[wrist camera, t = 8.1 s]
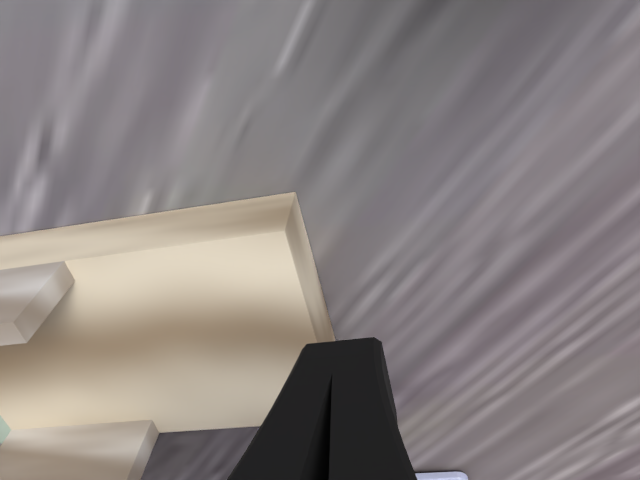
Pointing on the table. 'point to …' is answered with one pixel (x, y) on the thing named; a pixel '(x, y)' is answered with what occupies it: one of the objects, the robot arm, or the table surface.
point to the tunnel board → (149, 332)
